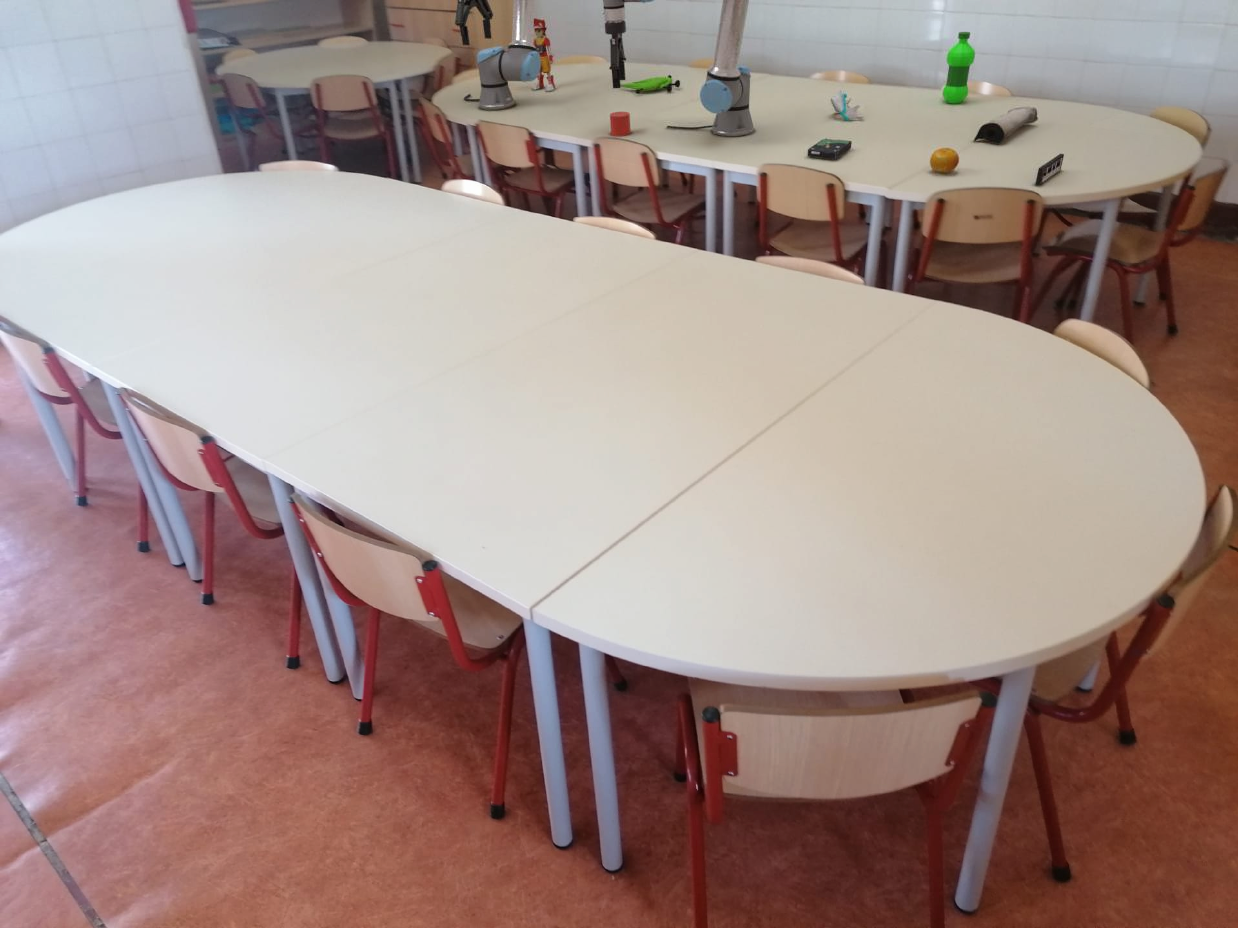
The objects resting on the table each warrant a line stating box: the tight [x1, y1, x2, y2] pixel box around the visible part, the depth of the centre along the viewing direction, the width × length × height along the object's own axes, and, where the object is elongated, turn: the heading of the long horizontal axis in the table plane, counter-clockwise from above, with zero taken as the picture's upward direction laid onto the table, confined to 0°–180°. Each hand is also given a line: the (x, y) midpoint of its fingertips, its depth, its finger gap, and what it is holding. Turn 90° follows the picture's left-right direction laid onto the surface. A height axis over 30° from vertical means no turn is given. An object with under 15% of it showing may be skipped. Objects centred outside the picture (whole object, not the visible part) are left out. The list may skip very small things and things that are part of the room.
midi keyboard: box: [1035, 153, 1065, 186], centre depth 273 cm, size 18×1×5 cm, turn 138°
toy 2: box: [620, 74, 681, 95], centre depth 401 cm, size 28×5×30 cm
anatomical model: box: [830, 89, 864, 121], centre depth 343 cm, size 15×10×10 cm
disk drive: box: [807, 138, 852, 160], centre depth 306 cm, size 10×3×15 cm
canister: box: [609, 111, 631, 137], centre depth 341 cm, size 8×8×7 cm
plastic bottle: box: [942, 31, 976, 104], centre depth 348 cm, size 10×10×25 cm
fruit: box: [929, 147, 960, 174], centre depth 283 cm, size 8×8×8 cm
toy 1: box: [532, 17, 556, 92], centre depth 403 cm, size 12×9×30 cm
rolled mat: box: [973, 106, 1039, 145], centre depth 314 cm, size 30×9×10 cm
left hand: (477, 42), depth 342 cm, fingers open, 13 cm apart
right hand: (619, 84), depth 332 cm, fingers open, 13 cm apart
